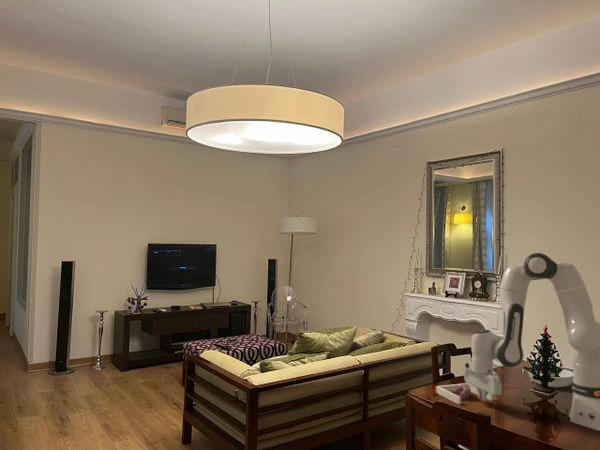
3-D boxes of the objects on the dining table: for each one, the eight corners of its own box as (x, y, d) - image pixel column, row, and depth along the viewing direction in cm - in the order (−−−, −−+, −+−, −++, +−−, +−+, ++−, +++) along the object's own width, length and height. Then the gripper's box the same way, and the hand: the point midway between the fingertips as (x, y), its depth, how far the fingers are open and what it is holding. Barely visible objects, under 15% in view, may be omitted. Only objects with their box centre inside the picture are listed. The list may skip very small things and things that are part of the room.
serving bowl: (533, 377, 253) (533, 364, 253) (578, 384, 240) (578, 370, 240) (523, 385, 237) (522, 371, 237) (570, 394, 223) (570, 379, 224)
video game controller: (467, 403, 214) (474, 390, 213) (457, 398, 214) (464, 385, 214) (462, 396, 223) (468, 383, 223) (453, 392, 224) (459, 378, 224)
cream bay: (493, 400, 214) (493, 393, 214) (458, 404, 208) (458, 397, 208) (468, 389, 230) (468, 382, 230) (435, 392, 224) (435, 386, 224)
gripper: (505, 372, 199) (505, 406, 198) (473, 361, 218) (473, 391, 218) (492, 374, 197) (493, 407, 196) (461, 362, 216) (461, 393, 216)
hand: (482, 399), depth 207 cm, fingers closed
